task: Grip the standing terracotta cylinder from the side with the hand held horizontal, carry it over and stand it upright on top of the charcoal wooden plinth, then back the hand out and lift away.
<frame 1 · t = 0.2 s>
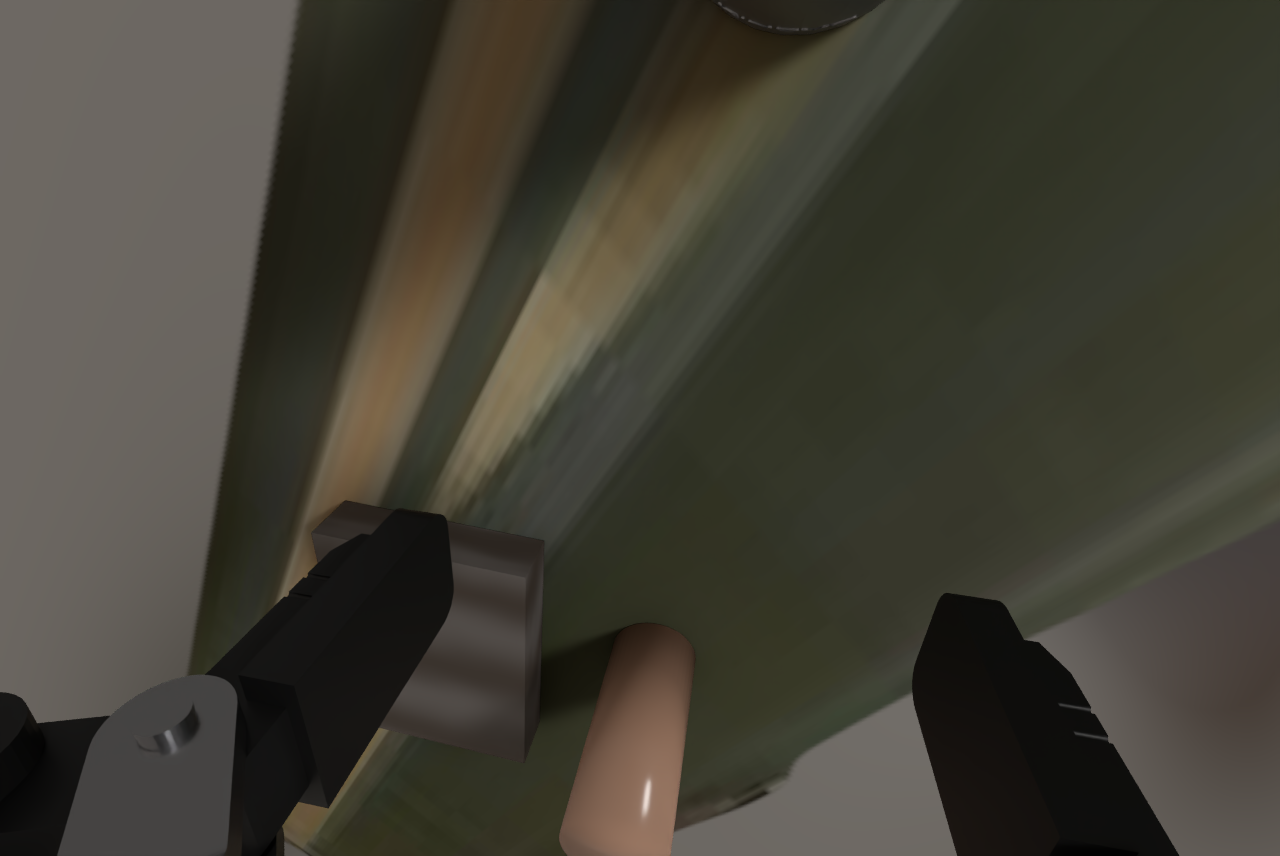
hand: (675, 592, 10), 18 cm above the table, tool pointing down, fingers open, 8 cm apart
plinth: (450, 620, 38), on the table
terracotta cylinder: (654, 653, 36), on the table
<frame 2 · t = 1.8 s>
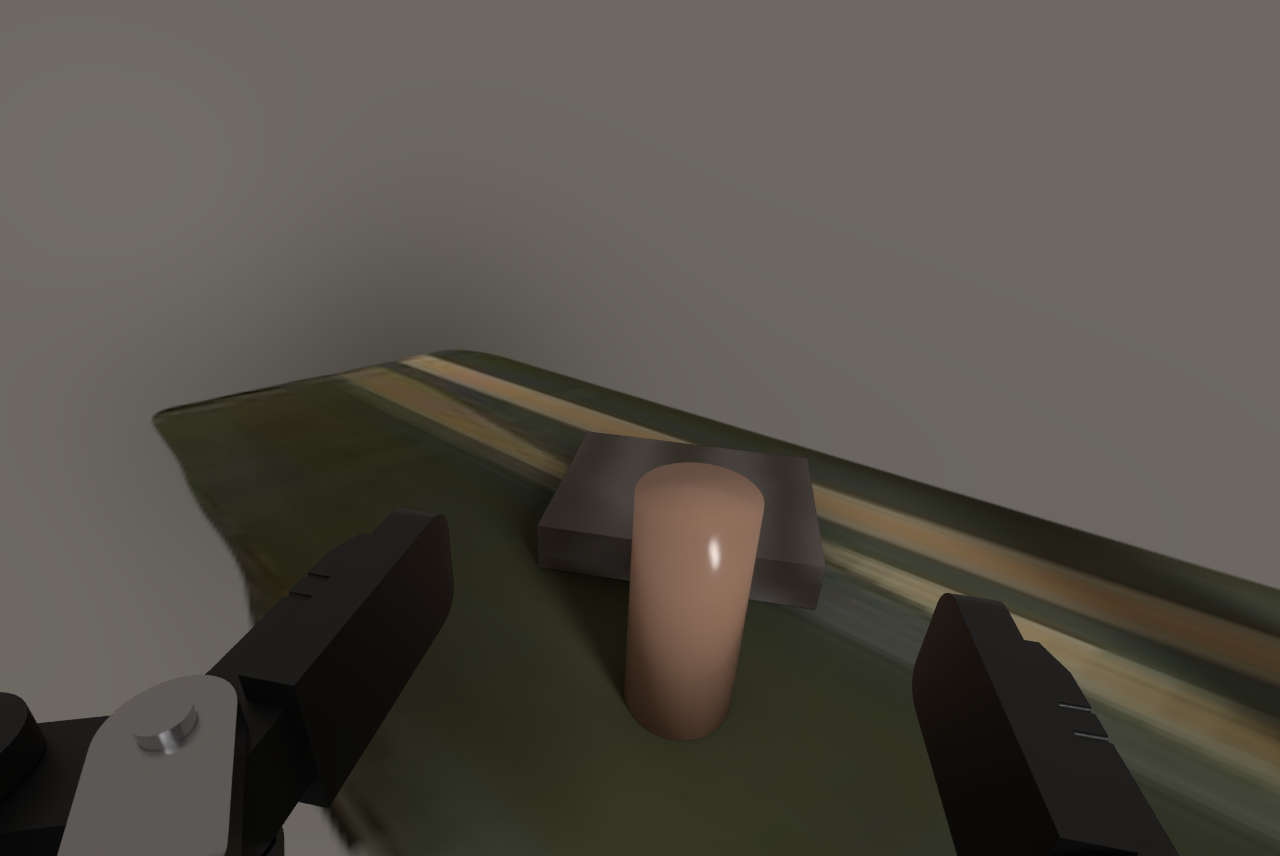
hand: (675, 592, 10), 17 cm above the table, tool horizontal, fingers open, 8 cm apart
plinth: (683, 526, 40), on the table
terracotta cylinder: (677, 691, 28), on the table
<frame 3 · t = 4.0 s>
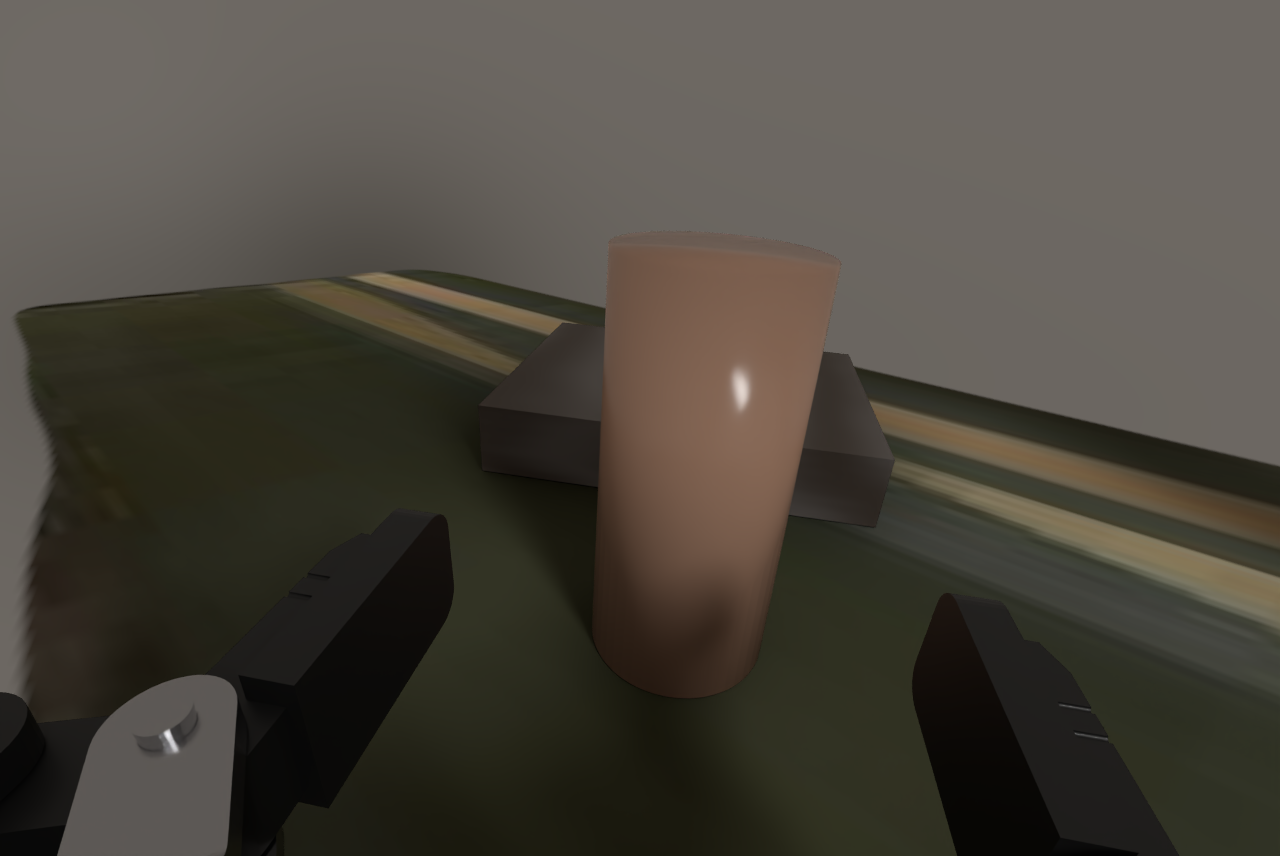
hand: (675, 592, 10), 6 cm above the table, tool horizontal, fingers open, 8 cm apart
plinth: (685, 432, 30), on the table
terracotta cylinder: (675, 627, 18), on the table
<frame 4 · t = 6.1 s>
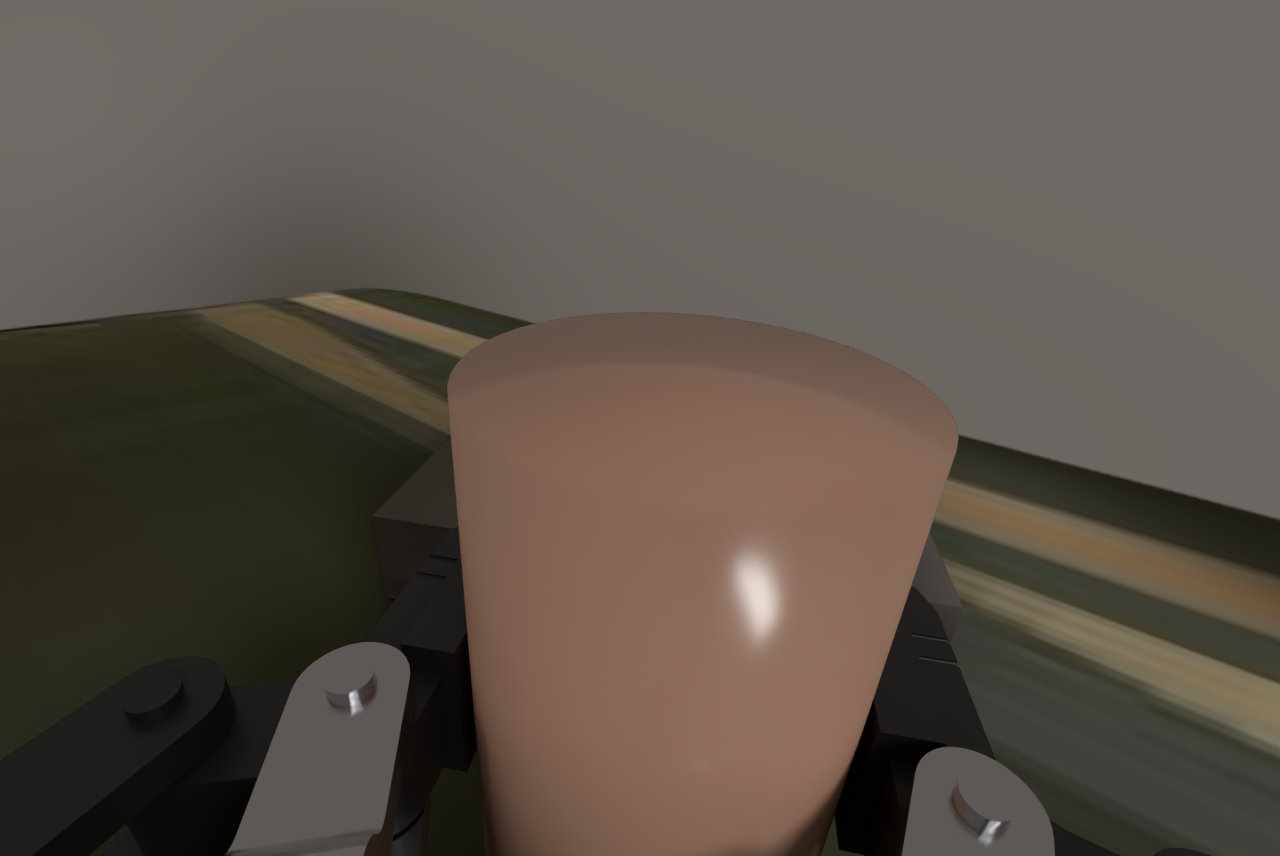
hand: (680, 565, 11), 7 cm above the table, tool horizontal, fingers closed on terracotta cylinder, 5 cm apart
plinth: (668, 523, 23), on the table
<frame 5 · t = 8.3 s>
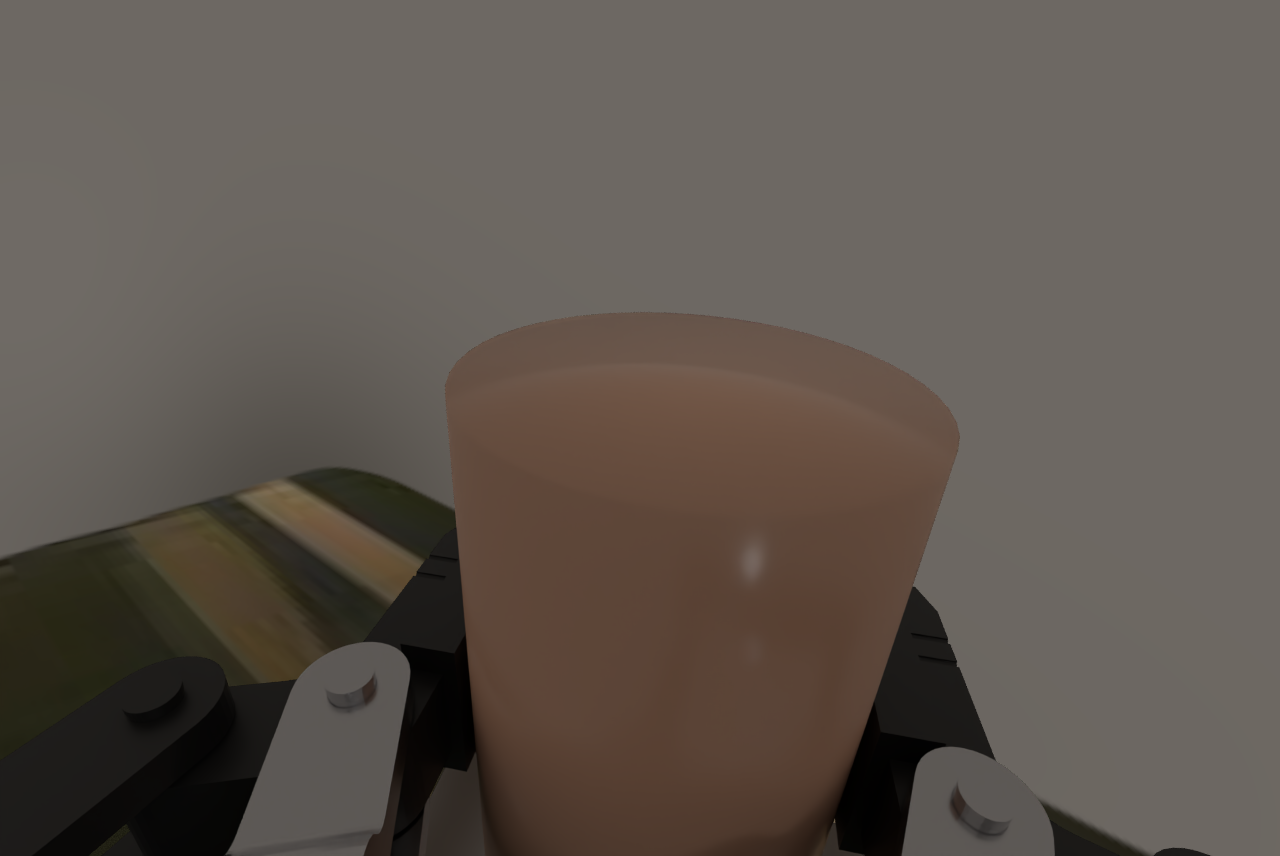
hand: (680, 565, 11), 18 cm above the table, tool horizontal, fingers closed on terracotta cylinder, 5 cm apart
when the fingers open (11 cm above the table, at t = 10.6 s): terracotta cylinder drops 1 cm, resting on plinth.
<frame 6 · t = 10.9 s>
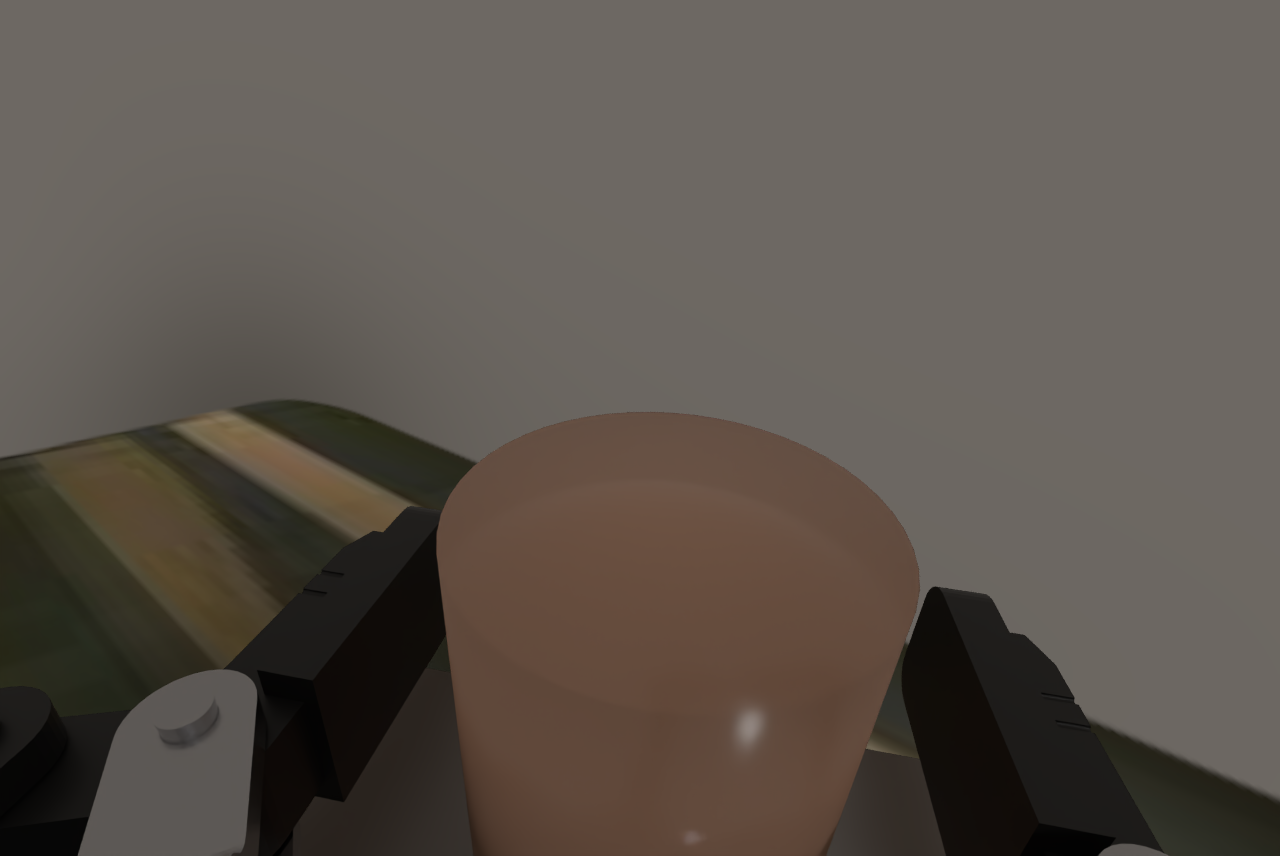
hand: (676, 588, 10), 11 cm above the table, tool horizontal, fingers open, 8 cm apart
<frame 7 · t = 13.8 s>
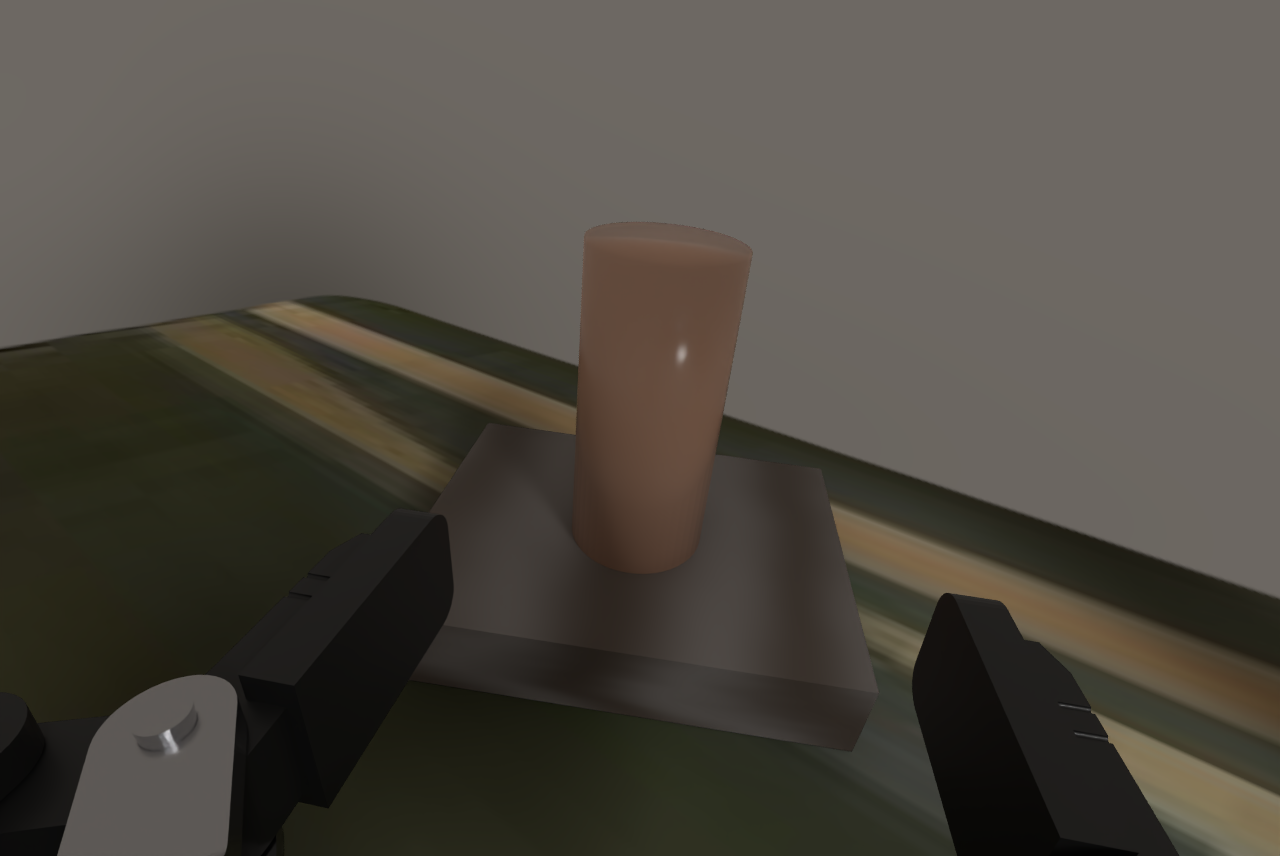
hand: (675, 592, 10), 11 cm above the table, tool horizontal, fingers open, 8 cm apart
plinth: (631, 581, 25), on the table
terracotta cylinder: (636, 527, 23), point 3 cm above the table, touching plinth
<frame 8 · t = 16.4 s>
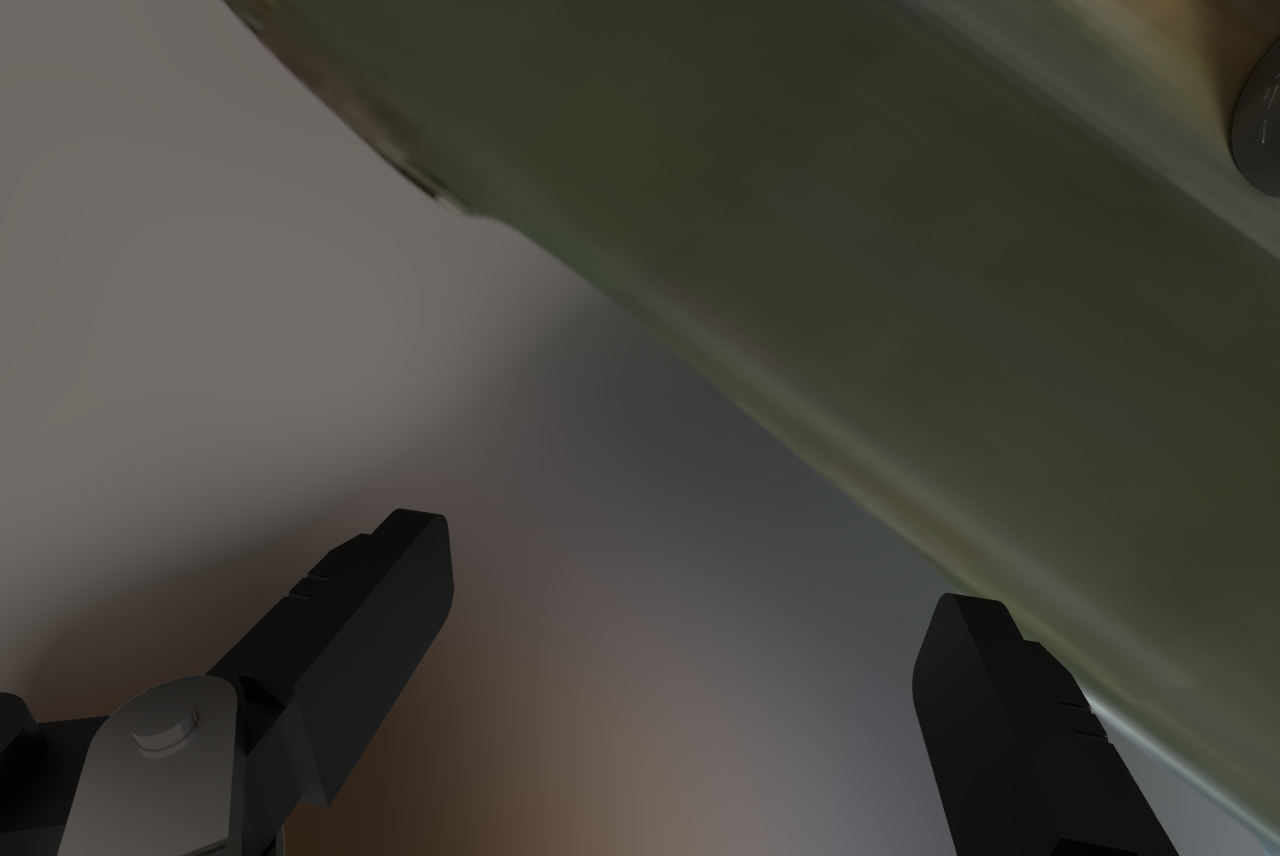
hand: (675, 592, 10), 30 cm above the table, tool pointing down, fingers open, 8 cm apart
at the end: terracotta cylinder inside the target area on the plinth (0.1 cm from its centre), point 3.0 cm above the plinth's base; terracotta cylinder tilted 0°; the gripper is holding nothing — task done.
